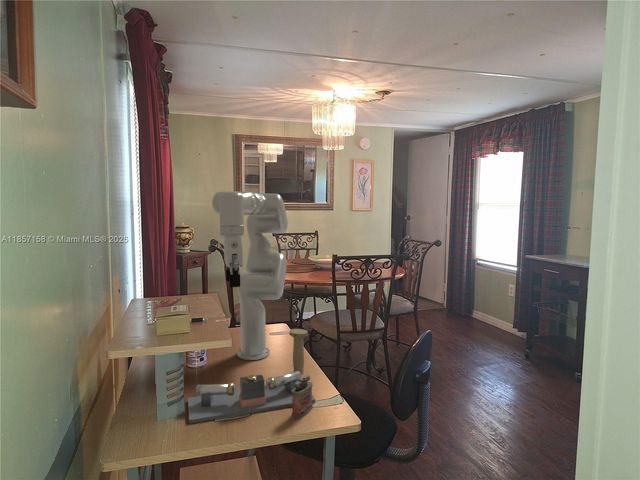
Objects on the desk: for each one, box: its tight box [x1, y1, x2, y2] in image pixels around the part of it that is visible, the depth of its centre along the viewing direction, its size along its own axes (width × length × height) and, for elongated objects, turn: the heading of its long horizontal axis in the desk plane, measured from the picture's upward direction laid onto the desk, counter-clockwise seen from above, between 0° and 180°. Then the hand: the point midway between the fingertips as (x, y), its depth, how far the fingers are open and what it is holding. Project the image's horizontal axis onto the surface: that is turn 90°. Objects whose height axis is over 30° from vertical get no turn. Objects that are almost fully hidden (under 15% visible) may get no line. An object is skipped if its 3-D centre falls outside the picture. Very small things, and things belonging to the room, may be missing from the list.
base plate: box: [187, 385, 316, 424], centre depth 123 cm, size 13×36×3 cm, turn 109°
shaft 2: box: [265, 371, 303, 394], centre depth 127 cm, size 11×4×7 cm, turn 124°
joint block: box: [239, 374, 265, 400], centre depth 121 cm, size 4×6×6 cm, turn 108°
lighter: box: [291, 374, 313, 420], centre depth 117 cm, size 8×3×10 cm, turn 147°
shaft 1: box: [195, 382, 236, 407], centre depth 121 cm, size 11×4×7 cm, turn 94°
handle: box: [288, 328, 308, 375], centre depth 143 cm, size 5×6×15 cm
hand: (233, 283), depth 133 cm, fingers open, 9 cm apart
